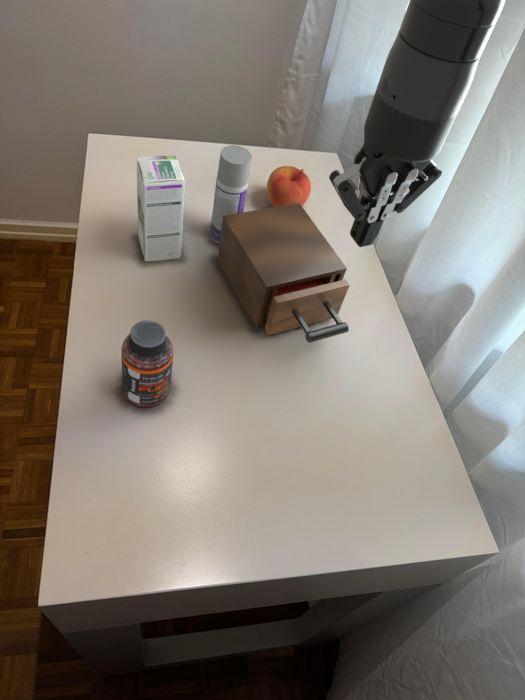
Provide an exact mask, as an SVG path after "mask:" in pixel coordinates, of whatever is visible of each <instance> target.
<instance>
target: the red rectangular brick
mask: <svg viewBox="0 0 525 700" xmlns="http://www.w3.org/2000/svg"><path fill="white" fill-rule="evenodd" d="M320 285H324V283H323V281H322V280H321V278H319V279H315V280H311V281H307V282H302V283H298V284H294V285H290V286H285V287H281V288H278V291H277V295H276V296H279V295H283V294H287V293H291V292H295V291H299V290H303V289H308V288H312V287H316V286H320Z"/></svg>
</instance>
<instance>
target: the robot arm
mask: <svg viewBox="0 0 525 700" xmlns="http://www.w3.org/2000/svg"><path fill="white" fill-rule="evenodd" d="M505 3H506V0H408V2H407V6H406V9H405V11H404V12H405V13H404V15H403V18H402V20H401V24H400V26H399V29H398V32H397V35H396V37H395V39H394V41H393V44H392V46H391V48H390V49H389V52H388V54H387V56H386V59H385V61H384V65H383V68H382V71H381V75H380V78H379V79H378V83H377V86H376V89H375V92H374V95H373V98H372V101H371V104H370V106H369V107H370V108H369V110H368V114H367V116H366V119H365V122H364V125H363V126H364V127H363V144H362V146H361V147H360V150H358V152H357V153H356V154H355V156H354V159H353V165H351V166H350V167H349V168H347V169H346V170H345V171H343V172H341V171H340V170H339V169H335V170H333V171H331V172H330V174H329V177H328V178H329V181H330V182H331V184H332V186H333V188H334V190H335V192H336V194H337V195H338V197H339V199H340V200H341V202H342V204H343V206H344V207H345V208H346V210H347V211H348V212H349V214H350V215H351V216H352V217H353V219H354V221H353V223H352V225H351V228H350V231H349V235H350V237H351V239H352V240H353V241H354V242H355V244H356V245H357V247H359V248H362V247H363V248H364V247H367V246H372V245H373V244H374V241H375V240H376V239H377V237H378V236H379V234H380V232H381V229H382V226H383V224H384V222H385V221H387V220H388V219H389V218H390V217H391V215H392V213H394V212H395V213H396V214H401V213H403V212H405V210H406V209H407V208H408V207H409V206H410V205H412V204H413V203H414V202H415V201H416V200H417V199H418V198H419V197H420V196H421V195H422V194H423V193H424V192H426V191H427V190H428V189H429V188H430V187H431V186H432V185H433V184H434V183H435V182H436V181H437V180H439V178H440V177H441V176H442V175H443V171H442V170H441V168H440V167H439V166H438V165H437V164H436V163H435V162H434V161H433V159H434V158H436V157H437V156H438V155H439V154H440V152H441V150H442V148H443V147H444V144H445V142H446V140H447V137H448V135H449V133H450V130H451V129H452V127H453V124H454V123H455V120H456V118H457V116H458V113H459V112H460V110H461V107H462V105H463V103H464V101H465V99H466V97H467V95H468V92H469V90H470V88H471V85H472V82H473V80H474V78H475V74H476V71H477V68H478V64H479V61H480V59H481V56H482V54H483V52H484V50H485V48H486V45H487V44H488V41H489V39H490V37H491V34H492V31H493V30H494V28H495V26H496V23H497V22H498V19H499V17H500V15H501V13H502V11H503V9H504V5H505ZM408 190H409V191H408ZM407 192H408V193H407ZM357 193H359V195H357Z"/></svg>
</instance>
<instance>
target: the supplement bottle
mask: <svg viewBox="0 0 525 700" xmlns="http://www.w3.org/2000/svg"><path fill="white" fill-rule="evenodd" d="M120 351H121V352H120V353H121V354H120V355H121V356H120V357H121V385H122V386H121V388H122V394H123V395H124V397H125V399H126V400H127V401H128V402H130V403H131V404H133V405H134V406H137V407H140V408H152V407H156V406H159V405H161V403H163V402H164V401H165V400H166V399H167V398H168V397H169V394H170V391H171V384H172V374H173V373H172V372H173V365H174V345H173V342H172V340H171V339H170V337H169V336H168V335H167V331H166V329H165V327H164V326H163V325H162V324H161V323H160V322H158V321H157V320H156V321H155V320H152V319H144V320H140V321H138V322H136V323H135V324H133V326H131V329H130V331H129V334H128V335H127V336H126V337H125V338H124V340H123V341H122V345H121V350H120Z"/></svg>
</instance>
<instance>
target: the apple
mask: <svg viewBox="0 0 525 700" xmlns="http://www.w3.org/2000/svg"><path fill="white" fill-rule="evenodd" d="M311 190H312V183H311V179H310V178H309V176H308V175H307V173H305V172H304V168H301V169H299V168H297V167H295V166H291V165H282V166H279V167H276V168H275V169H274V170H273V171H272V172H271V173H270V174H269V177H268V180H267V183H266V194H267V197H268V200H269V202H270V204H271V205H272V207H276V206H282V205H288V204H294V203H300V204H301V206H302V207H303V206H304V205H305V203H306V202H308V200H309V197H310V196H311Z"/></svg>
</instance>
